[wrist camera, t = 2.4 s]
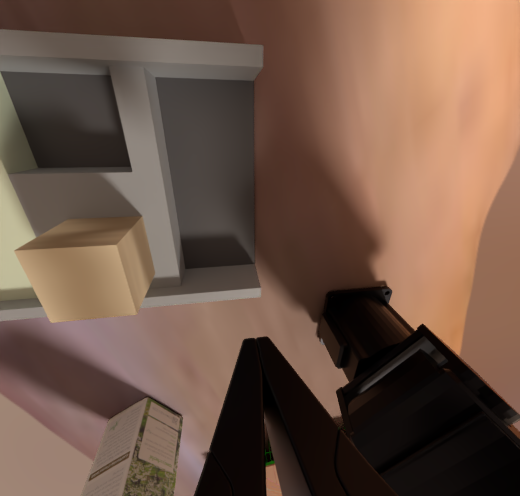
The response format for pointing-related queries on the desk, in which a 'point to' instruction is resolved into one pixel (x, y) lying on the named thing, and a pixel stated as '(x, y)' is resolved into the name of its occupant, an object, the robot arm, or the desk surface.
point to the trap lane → (131, 155)
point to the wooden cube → (90, 268)
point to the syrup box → (137, 453)
